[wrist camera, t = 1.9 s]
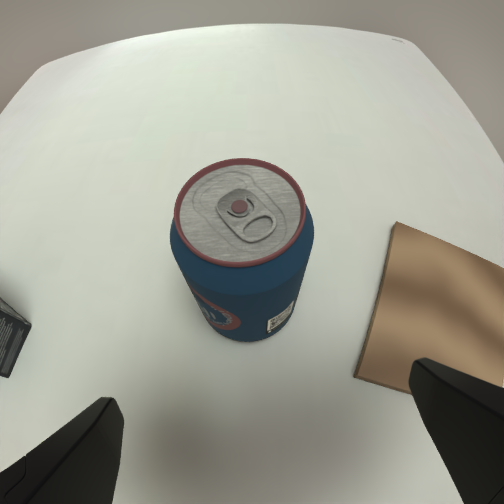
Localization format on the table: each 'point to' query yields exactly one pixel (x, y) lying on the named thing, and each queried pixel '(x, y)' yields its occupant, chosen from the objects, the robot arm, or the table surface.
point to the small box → (11, 337)
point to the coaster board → (434, 312)
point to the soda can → (243, 245)
